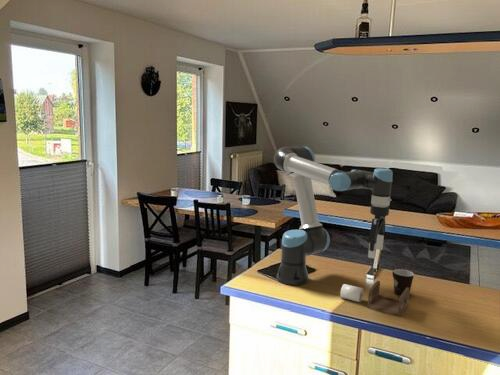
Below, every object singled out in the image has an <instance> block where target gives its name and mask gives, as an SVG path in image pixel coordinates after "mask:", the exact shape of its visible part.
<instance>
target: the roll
mask: <svg viewBox="0 0 500 375" xmlns="http://www.w3.org/2000/svg"><path fill="white" fill-rule="evenodd" d="M363 296H364V288H363V287H359V286H354V285H351V284H346V283H343V284H342V286H341V288H340V297H341V298H342V299H345V300H350V301H353V302H358V303H361V302H362V300H363Z"/></svg>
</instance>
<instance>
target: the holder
mask: <svg viewBox="0 0 500 375" xmlns="http://www.w3.org/2000/svg"><path fill="white" fill-rule="evenodd" d="M380 286H381V281H380V280H376V282H374V284H372V286H371V287H370V288H369V289H368V297H367V299H368V300H367V309H371V310H375V311H378V312H382V313H386V314H389V315H393V316H396V317H399V318H400V317H402V316H403V314H404V312H405V311H406V309H407V308H408V306H409V296H410V293H409V288H407V287H406V289H405V290H404V292H403V293H402V294H401V296H399V298H396V297H391V296H387V295H384V294H380Z"/></svg>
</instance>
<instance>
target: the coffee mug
mask: <svg viewBox="0 0 500 375" xmlns="http://www.w3.org/2000/svg"><path fill="white" fill-rule="evenodd" d="M414 274H415V273H414V272H413V271H411V270H408V269H403V268H400V269H399V268H398V269H394V270H392V277H393V293H394V294H395V296H398V297H400V296H401V294H402V293H403V292H404V290H405V289H406V287H407V288H409V294H410V293H411V289H412V284H413V279H414Z"/></svg>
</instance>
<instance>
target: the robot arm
mask: <svg viewBox="0 0 500 375" xmlns="http://www.w3.org/2000/svg"><path fill="white" fill-rule="evenodd" d="M273 163H274V165H275V167H276V168H277V169H278V170H280V171H283V172H285V173H288V174H289V176H291V177H292V179H293V184H294V189H295V190H294V191H295V195H296V200H297V207H298V213H299V216H300V217H299V218H300V222H301V223H300V224H301V225H300V226H299V229H290V230H287V231H285V232H284V233H283V234H282V238H281V239H282V240H281V253H280V254H281V256H280V257H281V259H280V260H281V262H280V265H279V266H278V270H277V273H276V280H277V279H278V280H277V281H278V282H279V281H280V283H281V284H284V285H290V286H300V285H301V286H302V285H305V284H307V283H308V282H309V273H308V270H307V266H306V263H307V262H306V261H307V260H306V259H307V257H308V256H312V255H315V254H320V253H323V252H324V251H325V250H327V248H329V245H330V243H331V242H330V241H331V240H330V239H331V238H330V234H329V232H328V231H327V230H326V229H325V228H324V226H323V223H321V222H320V221H319V217H318V211H317V205H316V199H315V195H314V189H313V188H314V187H313V183H312V180H313V181H316V182H320V183H322V184H325V185H328V186H330V188H331V189H332V190H333V191H335V192H344V191H350V190H356V189H365V190H366V189H367V190H369V191H370V190H371V191H372V192H371V198H370V199H371V200H370V204H371V205H370V210H369V213H370V214H371V215H373V216H374V218H372V219H371V227H370V231H369V236H368V239H367V243H368V253H367V258H369V259H376V252H377V250H378V251H379V250H380V251H383V249H384V248H383V247H384V237H385V236H387V232H386V217H387V216H389V214H390V203H391V202H392V198H391V195H392V194H391V192H392V186H393V181H394V180H393V174H394V172H393V170H392V169H389V168H382V167H379V168H375V169H374V170H373V171H367V170H361V169H351V170H350V171H343V170H340V169H337V168H335V167H330V166H328V165H324V164H323V163H320V162H319V163H318V162H316V156H315V153H314V151H313V150H312V149H311V148H310V147H308V146H303V145H297V146H283V147H280V148H278V149H277V150H276V151H275V153H274V156H273Z"/></svg>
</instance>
